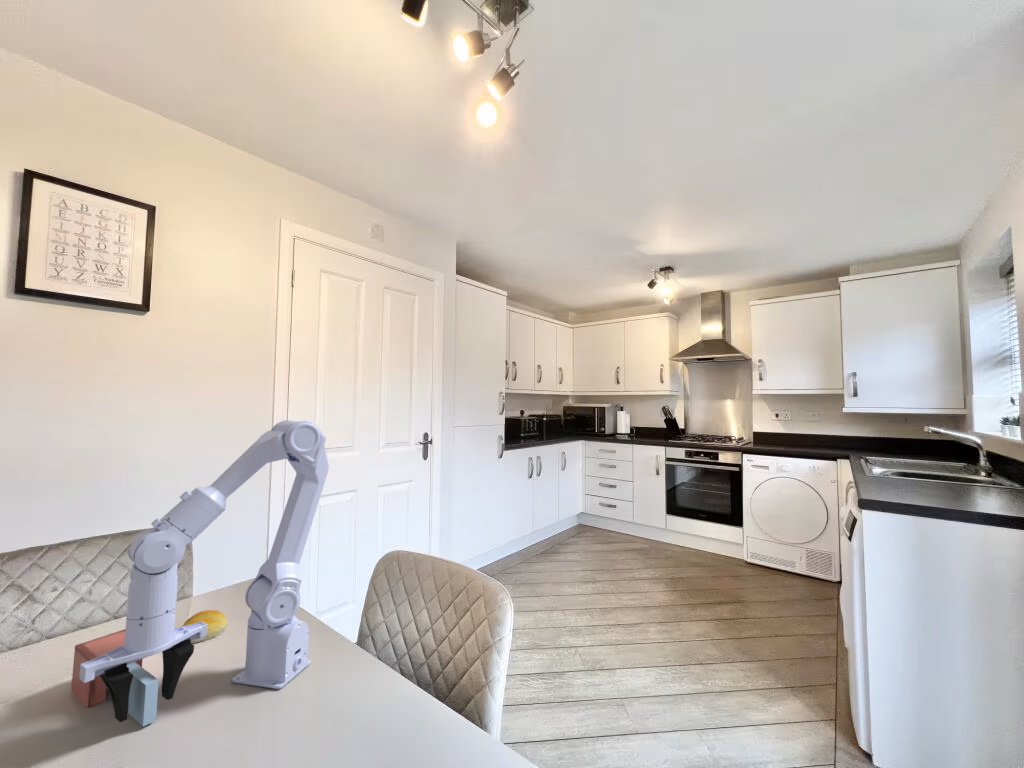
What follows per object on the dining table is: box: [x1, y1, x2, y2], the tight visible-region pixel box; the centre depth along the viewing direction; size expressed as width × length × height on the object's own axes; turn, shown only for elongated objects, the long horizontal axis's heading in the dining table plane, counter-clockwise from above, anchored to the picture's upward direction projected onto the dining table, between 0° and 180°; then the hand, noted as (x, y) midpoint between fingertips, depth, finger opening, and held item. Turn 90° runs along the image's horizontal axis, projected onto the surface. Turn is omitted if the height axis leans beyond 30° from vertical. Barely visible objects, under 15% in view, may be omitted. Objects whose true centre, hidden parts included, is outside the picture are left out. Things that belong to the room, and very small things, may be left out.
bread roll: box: [180, 609, 228, 644], centre depth 88 cm, size 8×9×4 cm
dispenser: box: [70, 628, 144, 708], centre depth 70 cm, size 8×6×7 cm
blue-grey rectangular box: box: [108, 662, 160, 727], centre depth 65 cm, size 13×2×6 cm, turn 59°
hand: (145, 707), depth 63 cm, fingers open, 5 cm apart
